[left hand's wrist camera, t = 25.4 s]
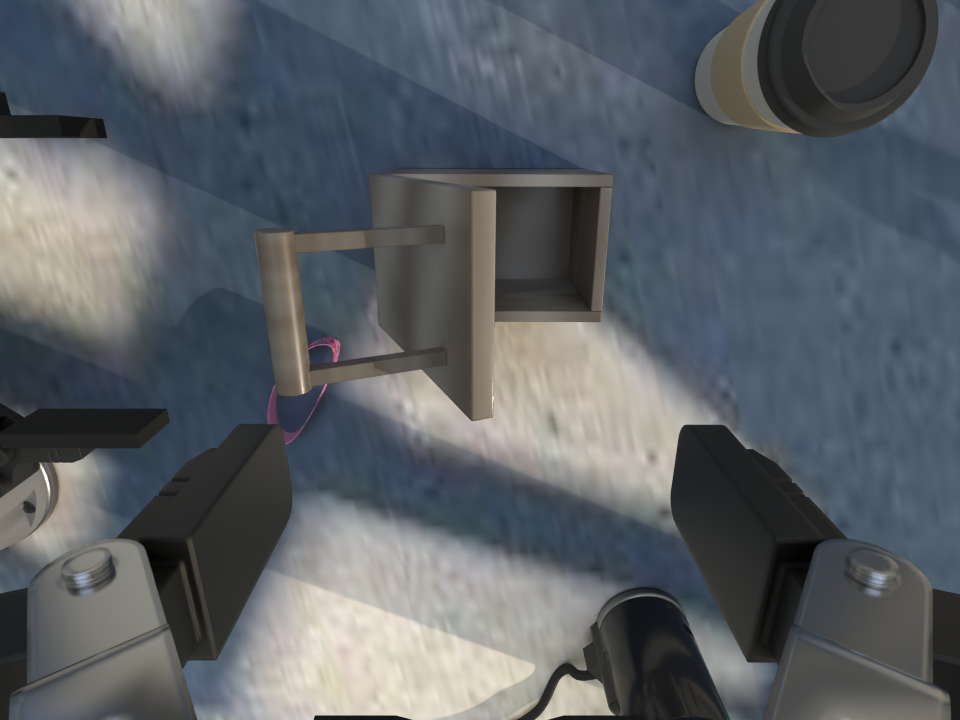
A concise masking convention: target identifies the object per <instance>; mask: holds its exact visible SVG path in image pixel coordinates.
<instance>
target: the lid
mask: <svg viewBox="0 0 960 720" xmlns="http://www.w3.org/2000/svg"><path fill="white" fill-rule="evenodd" d="M369 182H370V198H371V213H372V228H361V229H342V230H322V231H303V232H295V230H294V229H291V228H264V229H258V230H255V231H254V237H255V244H256V251H257V258H258V266H259V273H260V280H261V287H262V295H263V302H264V309H265V316H266V324H267V331H268V338H269V345H270V353H271V360H272V367H273V374H274V381H275V389H276V392H277V394H279V395H281V396H298V395H302V394H305V393H307V392H309V391H310V390H311V389H312V386H317V385H324V384H330V383H336V382H343V381H349V380H355V379H362V378H368V377H374V376H381V375H387V374H393V373H400V372H406V371H412V370H419V369H422V370H423V371H424V372H425V373H426V374H427V375H428V376H429V377H430V378H431V379H432V381H433V382H434V383H435V384H436V385H437V386H438V387H439V388H440V389H441V390H442V391H443V392H444V393H445V394H446V395H447V396H448V397H449V398H450V399H451V400H452V401H453V402H454V403H455V404H456V405H457V406H458V407H459V409H460V410H461V411H462V412H463V413H464V414H465V415H466V416H467V417H468V418H469V419H470V420H471V421H477V420H482V419H487V418H492V417H493V395H494V318H495V242H496V190H494V189H488V188H481V187H473V186H466V185H459V184H452V183H445V182H438V181H431V180H424V179H417V178H410V177H403V176H396V175H389V174H370V175H369ZM363 248H374V260H375V276H376V292H377V307H378V323H379V326H380V327H381V328H382V329H383V330H384V331H385V332H386V333H387V334H388V335H389V336H390V337H391V338H392V339H393V340H394V341H395V342H396V343H397V344H398V345H399V346H400V347H401V348H402V349H403V350H404V351H405V352H401V353H394V354H387V355H380V356H373V357H366V358H359V359H353V360H346V361H339V362H332V363H325V364H318V365H311V366H310V362H309V353H308V344H307V335H306V326H305V317H304V308H303V300H302V291H301V282H300V273H299V264H298V255H297V253H302V252H317V251H332V250H348V249H363Z"/></svg>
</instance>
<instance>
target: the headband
mask: <svg viewBox="0 0 960 720" xmlns="http://www.w3.org/2000/svg"><path fill="white" fill-rule="evenodd" d="M319 345H327V346H329V347H331V348H332V350H333V362H337V360H338V357H339V352H340V343H339V341H338V339H337V338H335V337H332V336H329V337H324V338H321V339H318V340H316V341H314V342H313V343H311V344H310V345H308V350H309V349H310V348H313V347H315V346H319ZM326 386H327V384H325V386H324V388H323V390H322V392H321V394H320V396H319V399H318V401H317V403H316V405H315V407H314V408H313V410H312V412H311V414H312V413H313V411H314V409H315V408H316V406H317V404H318V402H319V400H320V398H321V396H322V394H323V392H324V390H325V388H326ZM276 399H277V392H276V389H275V385H274V387H273V390H272V394H271V397H270V400H269V405H268V424H279V422H278V418H277V413H276ZM311 414H310V416H311ZM310 416H309V418H310ZM309 418H308V419H309ZM307 421H308V420H307ZM307 421H306V422H307ZM305 424H306V423H305ZM305 424H304V425H305ZM279 425H280V424H279ZM304 425H303V426H302V427H301V428H300V429H299V430H298V431H296V432H293V433H288V432H286V431H284V430H283V429H282V430H283V433H284V438H285V444H288V443H290V442H291V441H293V440H294V439H295V438H296V437H297V435H298V434H299V433H300V432H301V430H302V429H303V427H304ZM281 428H282V427H281Z"/></svg>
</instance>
